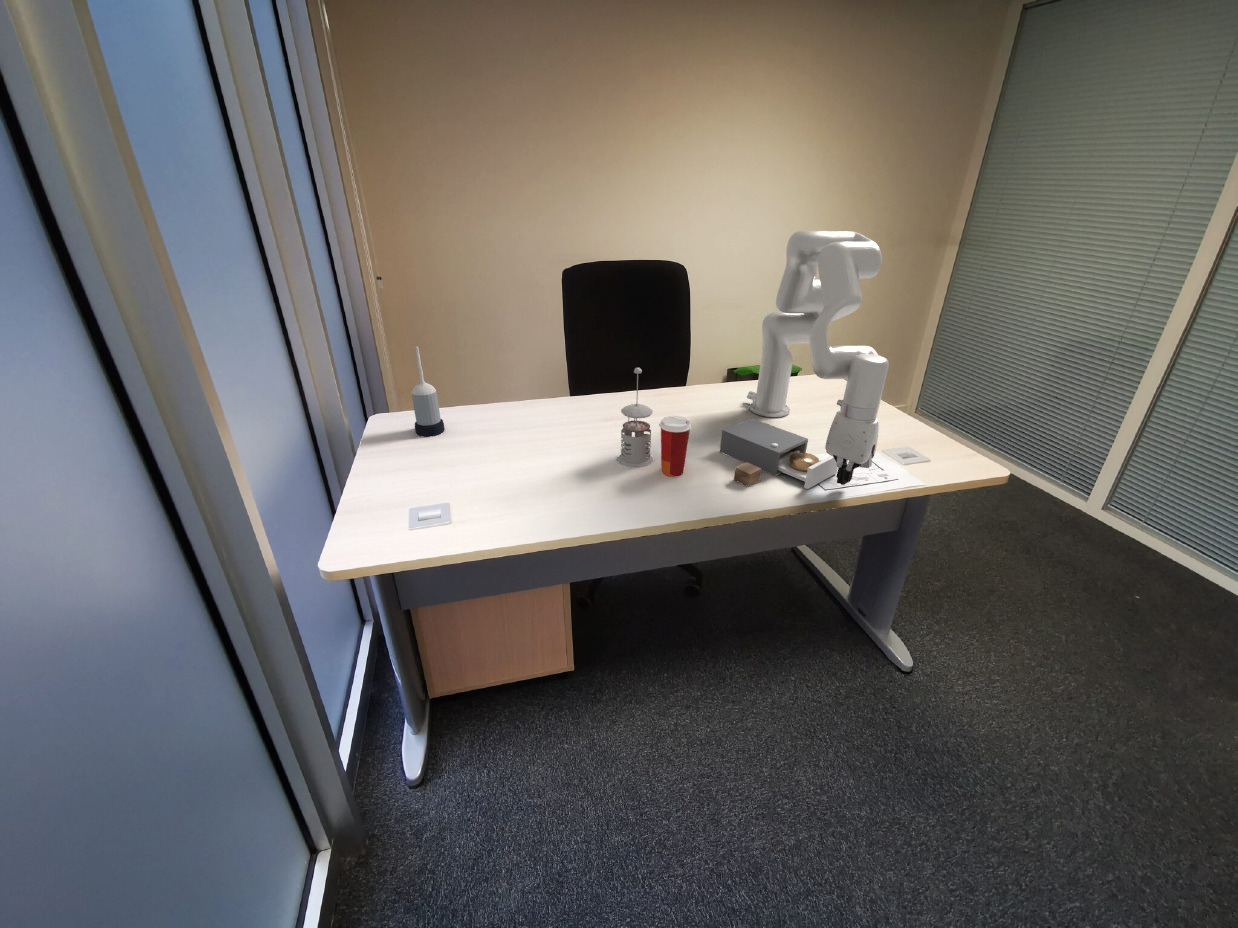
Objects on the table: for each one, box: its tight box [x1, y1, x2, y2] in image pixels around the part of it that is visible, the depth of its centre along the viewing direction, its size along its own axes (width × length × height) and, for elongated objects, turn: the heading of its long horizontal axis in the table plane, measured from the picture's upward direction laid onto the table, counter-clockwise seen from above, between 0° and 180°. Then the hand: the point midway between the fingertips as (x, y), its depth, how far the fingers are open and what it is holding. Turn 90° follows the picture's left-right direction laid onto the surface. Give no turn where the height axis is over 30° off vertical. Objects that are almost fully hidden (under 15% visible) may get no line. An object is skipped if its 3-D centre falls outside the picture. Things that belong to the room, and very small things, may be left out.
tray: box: [778, 450, 838, 490], centre depth 138 cm, size 18×13×5 cm
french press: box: [616, 367, 655, 469], centre depth 138 cm, size 10×12×25 cm
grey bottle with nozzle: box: [411, 346, 446, 438], centre depth 153 cm, size 8×8×25 cm
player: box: [719, 418, 809, 477], centre depth 144 cm, size 18×13×7 cm
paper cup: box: [658, 415, 692, 478], centre depth 134 cm, size 8×8×14 cm
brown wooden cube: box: [733, 462, 763, 488], centre depth 132 cm, size 4×4×4 cm
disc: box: [789, 452, 820, 472], centre depth 136 cm, size 7×7×2 cm
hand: (842, 482), depth 129 cm, fingers closed
